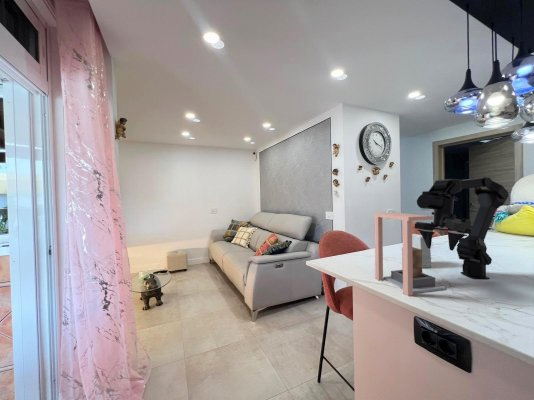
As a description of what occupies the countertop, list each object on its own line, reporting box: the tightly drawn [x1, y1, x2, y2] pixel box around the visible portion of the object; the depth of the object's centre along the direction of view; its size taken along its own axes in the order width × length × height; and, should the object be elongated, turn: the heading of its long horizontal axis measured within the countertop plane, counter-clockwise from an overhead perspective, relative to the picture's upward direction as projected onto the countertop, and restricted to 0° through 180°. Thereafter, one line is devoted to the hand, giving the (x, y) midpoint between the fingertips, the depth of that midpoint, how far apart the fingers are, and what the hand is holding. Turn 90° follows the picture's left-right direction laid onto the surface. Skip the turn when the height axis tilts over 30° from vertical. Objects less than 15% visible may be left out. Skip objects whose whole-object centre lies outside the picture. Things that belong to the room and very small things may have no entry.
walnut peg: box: [401, 247, 423, 278], centre depth 83 cm, size 4×4×13 cm
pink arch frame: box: [373, 212, 434, 297], centre depth 82 cm, size 10×17×27 cm, turn 12°
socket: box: [383, 269, 446, 295], centre depth 83 cm, size 14×14×4 cm
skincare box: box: [412, 233, 432, 269], centre depth 104 cm, size 8×6×15 cm
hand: (440, 249), depth 85 cm, fingers open, 9 cm apart
